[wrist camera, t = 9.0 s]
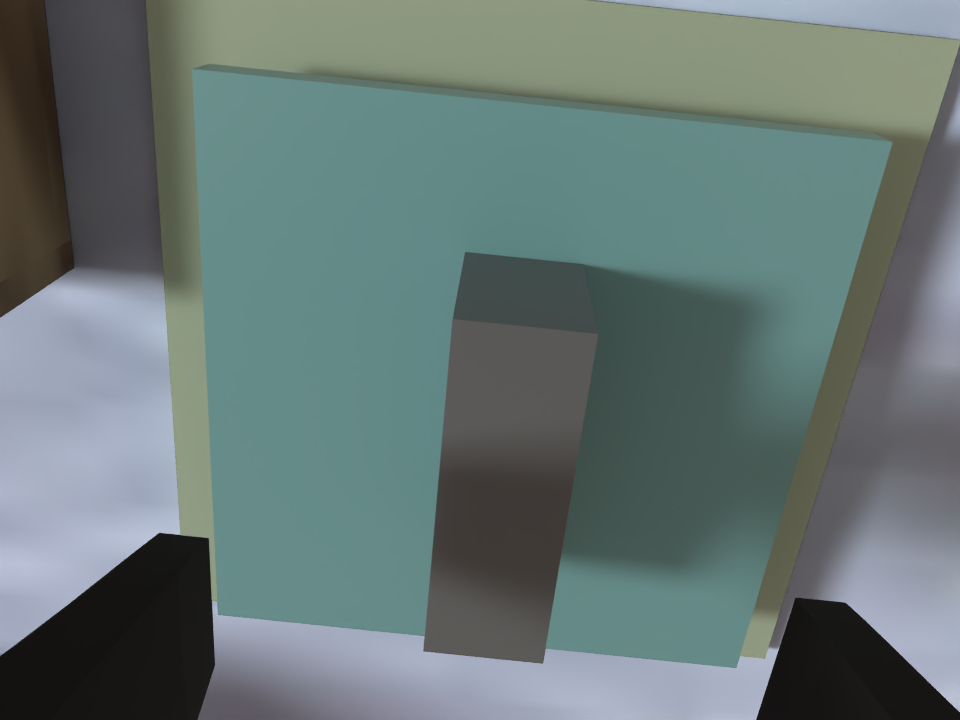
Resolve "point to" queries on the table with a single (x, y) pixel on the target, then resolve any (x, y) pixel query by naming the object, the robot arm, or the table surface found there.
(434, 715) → the table surface
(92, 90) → the table surface
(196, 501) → the felt mat
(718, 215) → the lid
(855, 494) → the table surface
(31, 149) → the storage box
